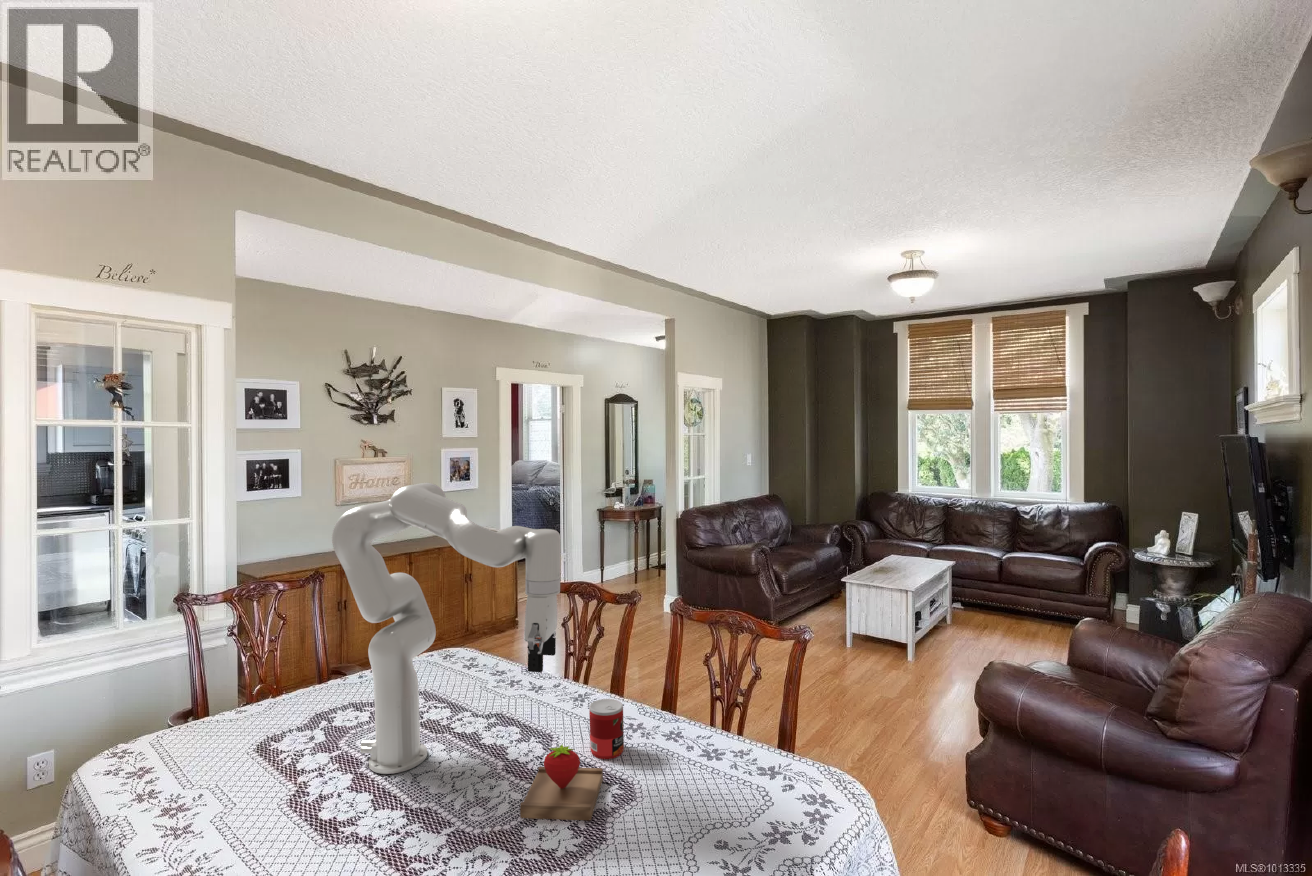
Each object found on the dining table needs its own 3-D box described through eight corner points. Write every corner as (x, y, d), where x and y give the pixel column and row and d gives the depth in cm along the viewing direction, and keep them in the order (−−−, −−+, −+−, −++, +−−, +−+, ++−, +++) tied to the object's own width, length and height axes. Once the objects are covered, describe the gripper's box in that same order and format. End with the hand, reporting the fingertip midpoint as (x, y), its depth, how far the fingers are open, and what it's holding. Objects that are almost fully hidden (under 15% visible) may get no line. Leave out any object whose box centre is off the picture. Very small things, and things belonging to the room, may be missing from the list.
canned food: (619, 761, 145) (618, 714, 144) (585, 758, 146) (584, 711, 146) (627, 745, 152) (626, 699, 152) (595, 742, 154) (594, 697, 154)
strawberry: (577, 797, 127) (575, 748, 127) (540, 796, 128) (539, 747, 128) (583, 781, 133) (582, 734, 133) (548, 780, 134) (547, 733, 134)
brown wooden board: (520, 818, 124) (520, 805, 124) (539, 778, 138) (539, 766, 138) (590, 820, 123) (590, 807, 123) (602, 780, 137) (602, 768, 137)
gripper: (538, 575, 149) (537, 648, 149) (512, 595, 132) (512, 677, 132) (569, 577, 148) (568, 650, 148) (548, 597, 131) (547, 679, 131)
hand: (542, 662), depth 140 cm, fingers open, 9 cm apart
